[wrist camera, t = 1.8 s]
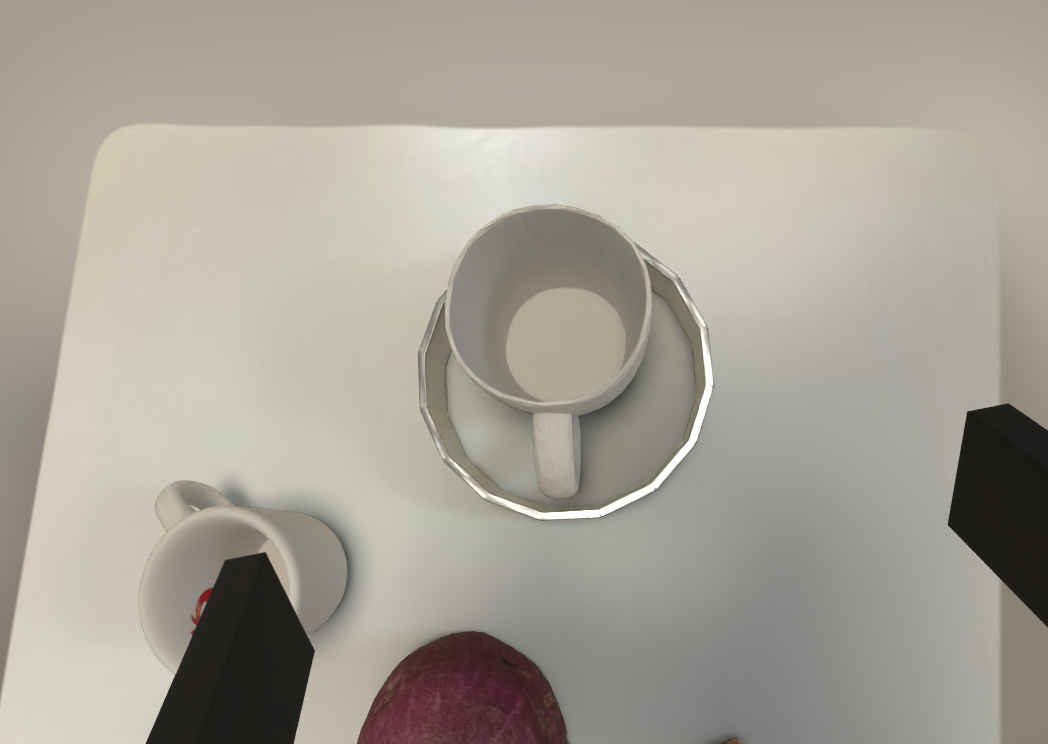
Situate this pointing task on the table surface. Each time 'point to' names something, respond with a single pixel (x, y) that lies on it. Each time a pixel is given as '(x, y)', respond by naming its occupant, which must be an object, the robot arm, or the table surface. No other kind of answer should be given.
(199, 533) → the cup
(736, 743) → the mat
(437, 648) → the vegetable
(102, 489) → the table surface
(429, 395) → the ring
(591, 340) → the mug
